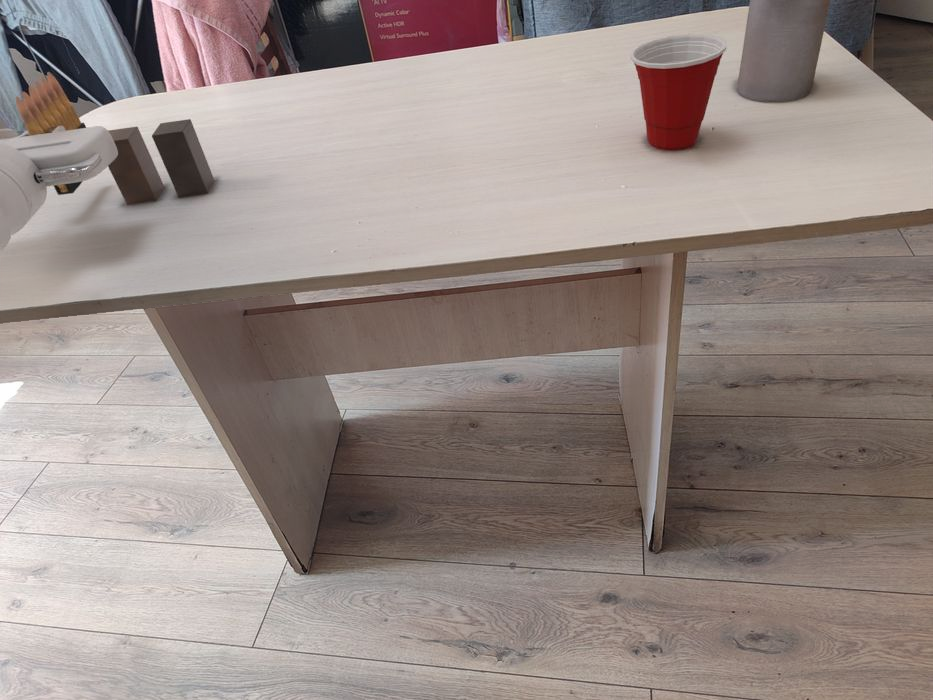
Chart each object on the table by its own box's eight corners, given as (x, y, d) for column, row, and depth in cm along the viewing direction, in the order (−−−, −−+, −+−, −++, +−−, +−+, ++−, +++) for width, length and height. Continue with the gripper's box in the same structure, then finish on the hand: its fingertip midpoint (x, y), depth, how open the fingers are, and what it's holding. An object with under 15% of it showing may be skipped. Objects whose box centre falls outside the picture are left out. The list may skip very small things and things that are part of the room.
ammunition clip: (72, 193, 85) (20, 98, 77) (58, 195, 85) (4, 100, 77) (102, 157, 93) (58, 68, 85) (89, 159, 93) (43, 70, 85)
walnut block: (128, 207, 90) (96, 143, 84) (137, 193, 93) (107, 130, 87) (157, 203, 90) (127, 138, 84) (165, 189, 93) (137, 126, 87)
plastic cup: (640, 122, 92) (645, 28, 84) (723, 129, 87) (737, 31, 79) (614, 157, 85) (617, 58, 77) (703, 167, 80) (715, 63, 72)
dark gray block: (179, 200, 90) (151, 135, 84) (187, 186, 93) (160, 123, 87) (208, 196, 90) (182, 131, 84) (215, 182, 93) (190, 118, 87)
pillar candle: (775, 72, 99) (796, -44, 90) (827, 91, 92) (856, -32, 82) (721, 88, 97) (736, -28, 87) (770, 109, 90) (793, -15, 80)
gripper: (75, 144, 70) (119, 96, 81) (-115, 171, 71) (-47, 120, 81) (104, 198, 74) (142, 146, 85) (-77, 223, 75) (-16, 169, 85)
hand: (48, 134), depth 83 cm, fingers closed on ammunition clip, 2 cm apart
